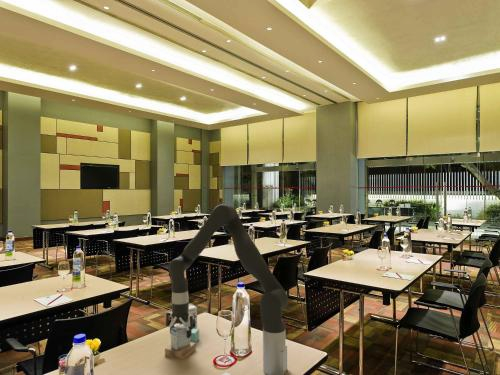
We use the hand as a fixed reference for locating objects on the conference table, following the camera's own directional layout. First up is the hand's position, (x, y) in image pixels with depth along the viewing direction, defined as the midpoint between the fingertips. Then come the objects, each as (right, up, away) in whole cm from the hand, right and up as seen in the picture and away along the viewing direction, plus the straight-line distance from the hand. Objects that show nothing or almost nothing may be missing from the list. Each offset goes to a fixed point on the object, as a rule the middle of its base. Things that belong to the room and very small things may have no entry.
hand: (180, 336), depth 165 cm
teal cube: (+3, -7, +12) cm, 15 cm away
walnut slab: (0, -8, 0) cm, 8 cm away
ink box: (-1, -7, +26) cm, 28 cm away
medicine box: (0, -5, 0) cm, 5 cm away
